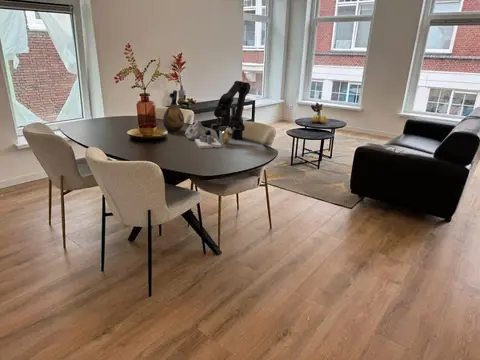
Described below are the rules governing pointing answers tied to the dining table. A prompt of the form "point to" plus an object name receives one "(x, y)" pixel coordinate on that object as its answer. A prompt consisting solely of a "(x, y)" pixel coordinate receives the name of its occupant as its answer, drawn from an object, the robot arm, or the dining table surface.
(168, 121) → the ceramic jug
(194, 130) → the mechanical valve
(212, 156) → the dining table surface
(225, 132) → the brass cylinder
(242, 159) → the dining table surface
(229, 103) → the robot arm
